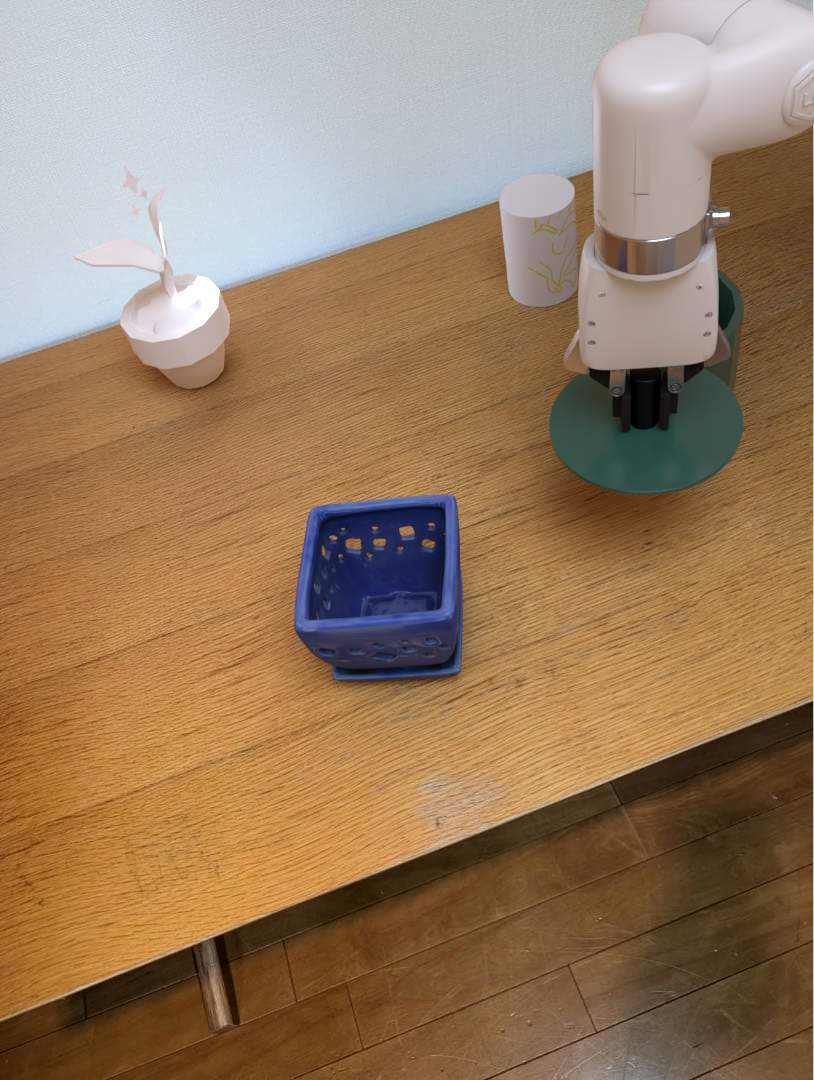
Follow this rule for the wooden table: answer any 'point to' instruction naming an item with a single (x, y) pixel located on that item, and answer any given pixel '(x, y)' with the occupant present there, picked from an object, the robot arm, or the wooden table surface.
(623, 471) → the lid
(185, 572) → the wooden table surface
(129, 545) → the wooden table surface
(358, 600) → the flower pot
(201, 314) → the potted plant
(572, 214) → the white cylinder
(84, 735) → the wooden table surface
